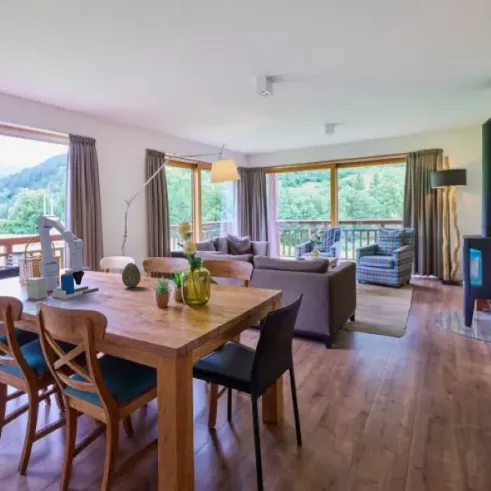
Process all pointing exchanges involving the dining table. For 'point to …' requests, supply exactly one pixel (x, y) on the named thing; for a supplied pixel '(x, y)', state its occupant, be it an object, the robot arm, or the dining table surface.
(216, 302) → the dining table surface
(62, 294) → the dock
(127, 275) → the decorative egg
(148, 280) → the dining table surface
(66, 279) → the beverage can
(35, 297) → the small box
